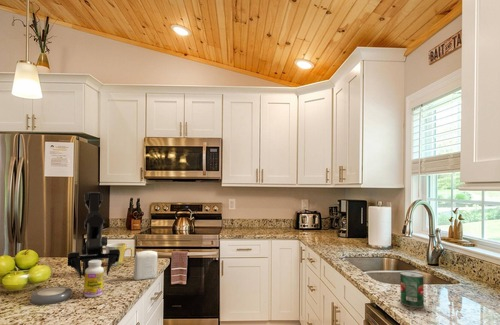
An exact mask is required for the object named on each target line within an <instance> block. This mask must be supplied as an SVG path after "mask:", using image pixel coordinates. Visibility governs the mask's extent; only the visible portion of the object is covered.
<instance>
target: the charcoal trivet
mask: <svg viewBox="0 0 500 325" xmlns="http://www.w3.org/2000/svg"><path fill="white" fill-rule="evenodd" d="M29 298H30V299H29V301H30V302H29V303H30V304H31V305H34V306H36V305H37V306H48V305H49V306H50V305H56V304H59V303H64V302H65V301H68V300H70V299H71V298H72V287H70V286H63V285H62V286H59V285H58V286H48V287H44V288H40V289H37V290H35V291H33V292H31V293H30V297H29Z"/></svg>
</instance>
